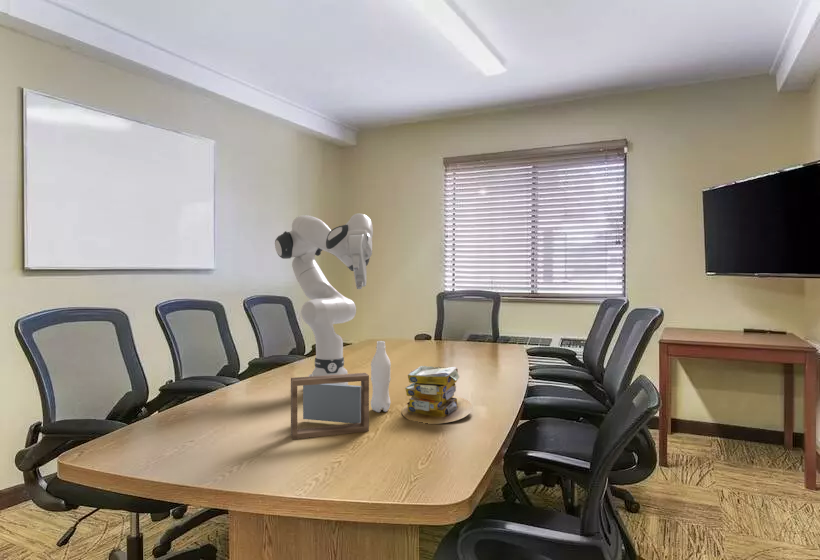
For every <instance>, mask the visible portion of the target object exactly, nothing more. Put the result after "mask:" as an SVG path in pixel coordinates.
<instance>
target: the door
mask: <svg viewBox="0 0 820 560" xmlns="http://www.w3.org/2000/svg"><path fill="white" fill-rule="evenodd" d="M302 386H303V388H302V419H303V420H308V421H309V420H311V421H321V422H331V423H333V422H334V423H344V424H353V423H361V385H353V384H352V385H351V384H348V385H339V384H316V385H302Z"/></svg>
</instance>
